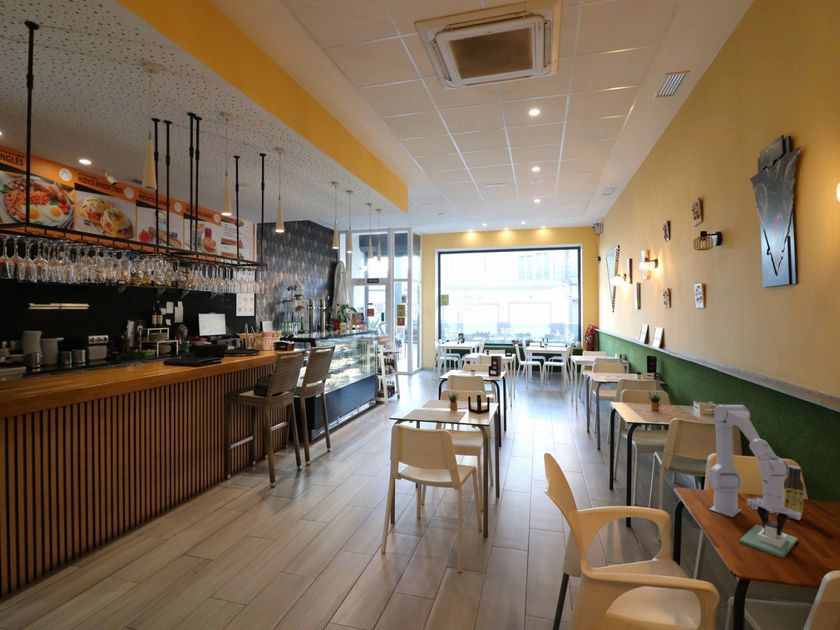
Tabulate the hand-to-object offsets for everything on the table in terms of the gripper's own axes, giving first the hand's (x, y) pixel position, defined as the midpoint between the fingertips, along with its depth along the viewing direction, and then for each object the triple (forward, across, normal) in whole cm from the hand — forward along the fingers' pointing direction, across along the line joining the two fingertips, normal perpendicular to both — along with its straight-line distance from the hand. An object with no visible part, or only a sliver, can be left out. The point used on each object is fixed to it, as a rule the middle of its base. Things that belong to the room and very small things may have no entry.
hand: (772, 532), depth 152 cm
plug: (+2, 0, -1) cm, 3 cm away
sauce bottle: (+4, -1, +30) cm, 31 cm away
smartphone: (+4, -11, +34) cm, 36 cm away
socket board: (+3, -1, 0) cm, 4 cm away
